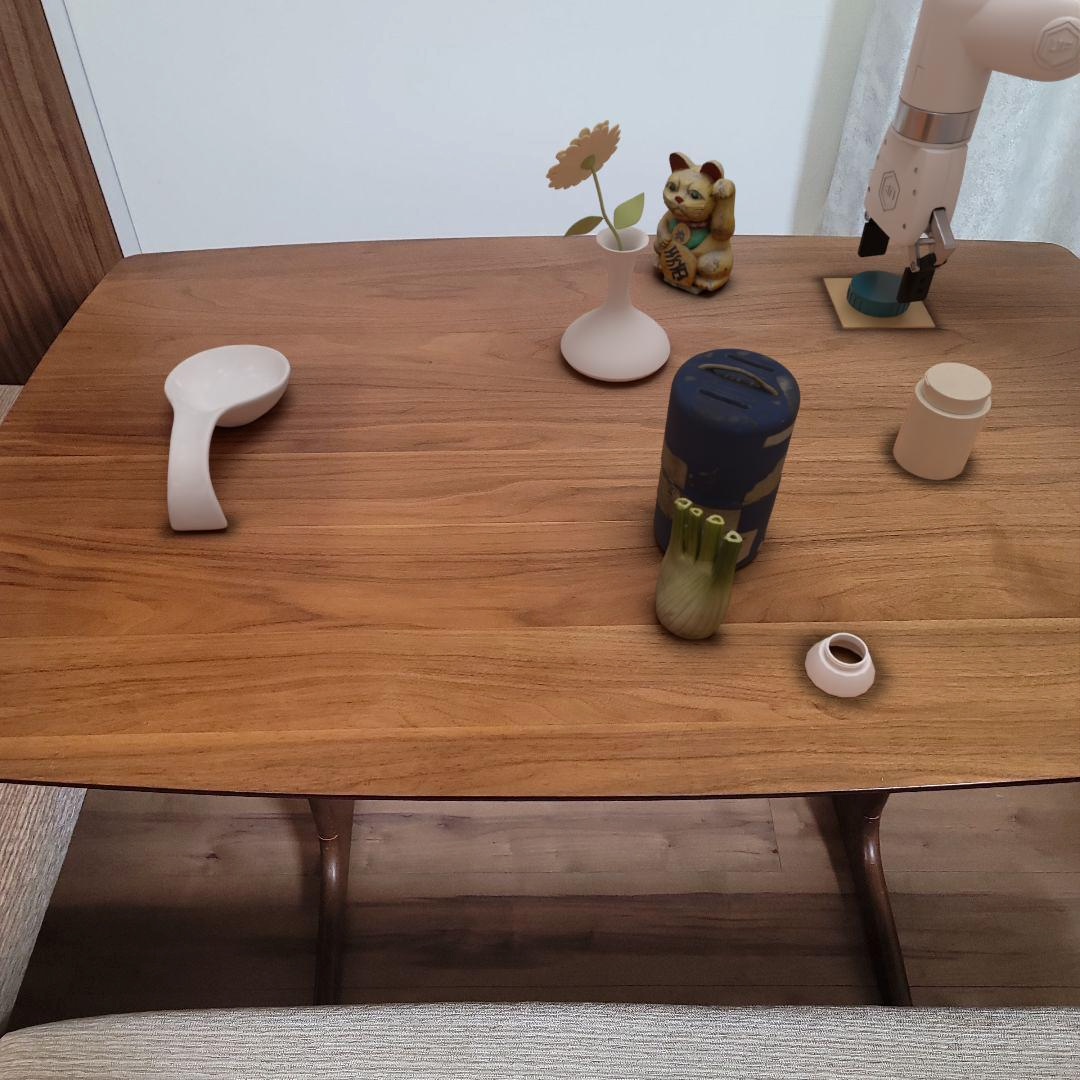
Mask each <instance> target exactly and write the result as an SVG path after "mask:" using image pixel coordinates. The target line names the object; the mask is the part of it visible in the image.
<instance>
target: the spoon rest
mask: <svg viewBox="0 0 1080 1080" xmlns="http://www.w3.org/2000/svg"><path fill="white" fill-rule="evenodd" d="M291 372H292V369H291V364H290V361H289V360H288V358H287V357H286V355H284V354H283V353H282V352H280V351H278V350H277V349H274V348H272V347H268V346H264V345H257V344H234V345H233V344H232V345H223V346H218V347H213V348H210V349H205V350H203V351H200V352H198V353H195V354H193V355H191V356H189V357H187V358H185V359H184V360H183V361H181V362H180V363H178V364H177V365H176V366H175V367H174V368H172V370H171V371H170V372H169V374H168V375H167V377H166V379H165V382H164V385H163V386H164V387H163V392H164V395H165V396H166V399H167V401H168V402H169V404H170V405H171V407H172V409H173V423H172V428H171V435H170V441H169V443H170V444H169V451H168V452H169V453H168V462H167V463H168V464H167V466H168V467H167V485H166V487H167V489H166V490H167V491H166V492H167V495H166V496H167V497H166V500H167V512H168V519H169V523H170V526H171V529H173V530H175V531H206V530H207V531H209V530H220V529H226V528H227V527H228V521H227V519H226V516H225V514H224V512H223V510H222V507H221V504H220V502H219V500H218V498H217V495H216V492H215V489H214V486H213V484H212V483H213V482H212V479H211V474H210V460H209V459H210V448H211V447H210V446H211V441H212V436H213V433H214V430H215V427H216V426H217V427H222V428H236V427H241V426H245V425H248V424H251V423H252V422H254V421H256V420H258V419H259V418H260V417H262V416H263V415H265V414H266V413H267V412H269V411H270V410H271V409H272V408H273V407H274V406H275V405H276V404H277V403H278V402H279V401H280V399H281V398H282V396H283V395H284V393H285V392H286V390H287V387H288V386H289V385H288V384H289V381H290V377H291Z"/></svg>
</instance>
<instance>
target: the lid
mask: <svg viewBox="0 0 1080 1080" xmlns="http://www.w3.org/2000/svg"><path fill="white" fill-rule="evenodd" d="M902 277H903V276H902V275H899V274H896V273H893V272H890V271H884V270H873V269H872V270H865V271H861V272H859V273H857V274H855V275H853V277H851V278H852V280H851V283H850V284H849V288H848V291H847V300H848V303H849V304H850V305H851V306H852V307H853V308H855V309H856V310H858V311H859V312H862V313H864V314H867V315H870V316H875V317H894V316H898V315H900V314H903V313H904V312H905V311H906V310H907V309H908V307H909V305H910V302H909V303H902V304H900V303H898V301H897V300H896V297H897V294H898V290H899V287H900V283H901V280H902Z"/></svg>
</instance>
